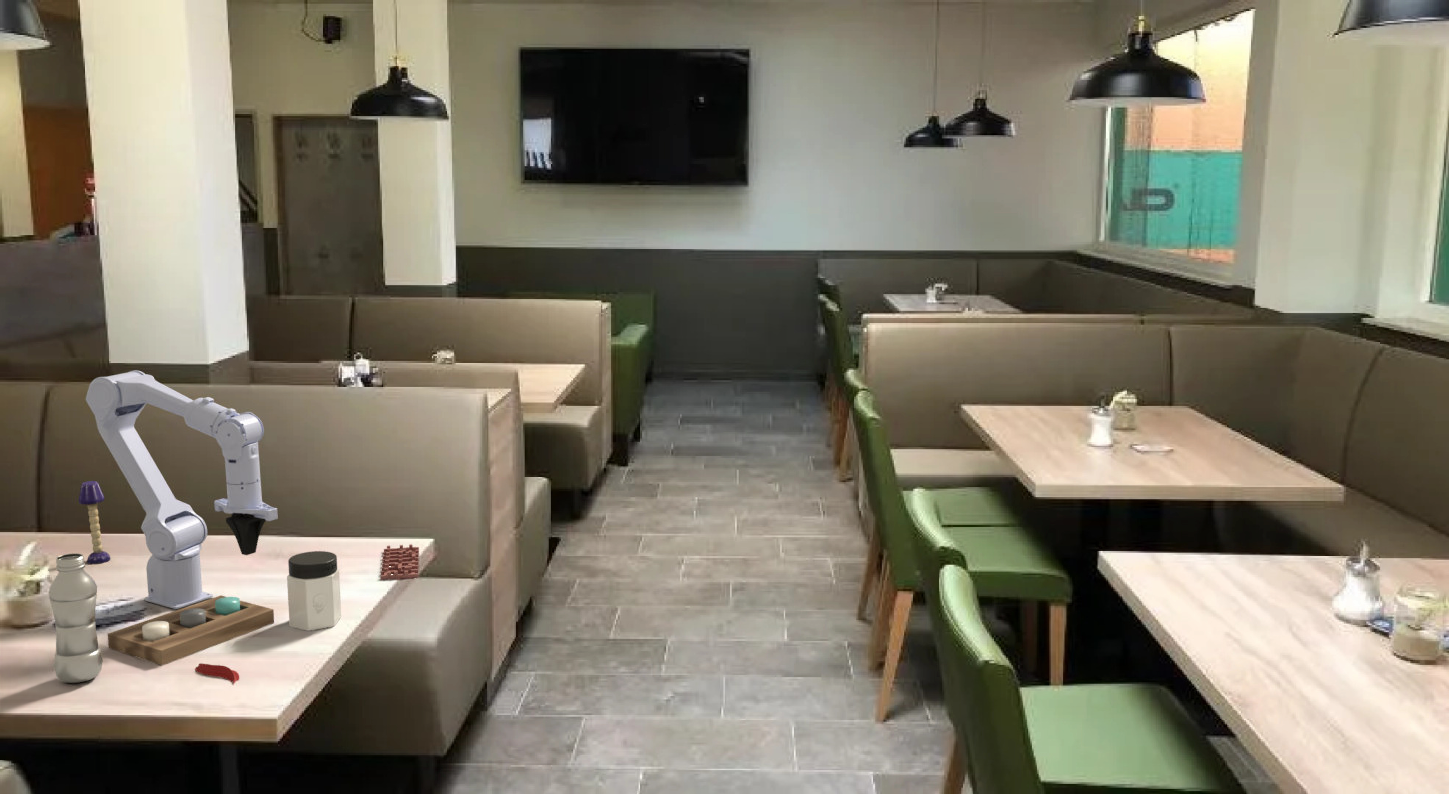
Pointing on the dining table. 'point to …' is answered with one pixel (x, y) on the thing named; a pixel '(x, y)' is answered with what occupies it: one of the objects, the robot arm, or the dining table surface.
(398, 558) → the brown woven panel
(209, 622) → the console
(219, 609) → the teal rounded piece
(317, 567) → the jar
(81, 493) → the toy lamp
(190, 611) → the graphite key
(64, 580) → the plastic bottle
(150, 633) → the ivory key
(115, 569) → the dining table surface
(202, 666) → the cayenne pepper
